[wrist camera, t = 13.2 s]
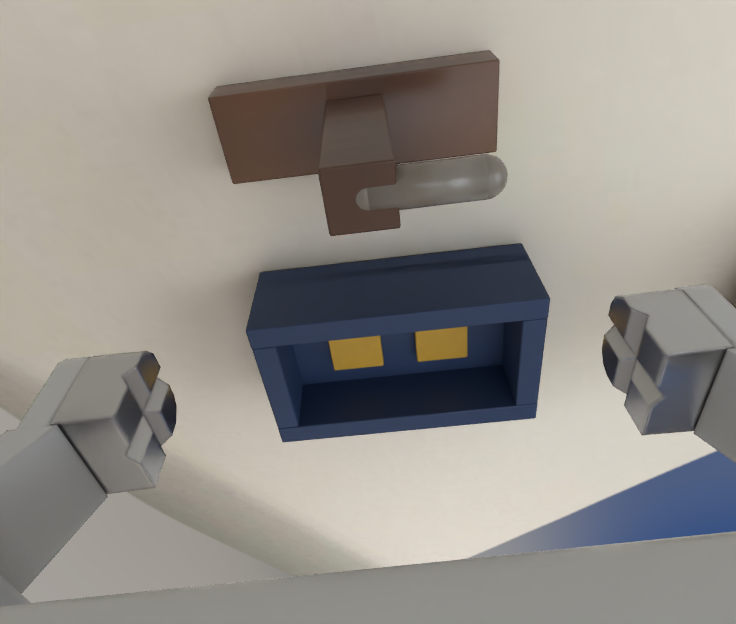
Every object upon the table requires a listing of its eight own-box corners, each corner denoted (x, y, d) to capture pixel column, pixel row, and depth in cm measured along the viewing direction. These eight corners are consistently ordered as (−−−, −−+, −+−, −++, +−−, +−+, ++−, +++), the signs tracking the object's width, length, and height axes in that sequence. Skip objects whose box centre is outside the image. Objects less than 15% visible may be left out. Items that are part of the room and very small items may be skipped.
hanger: (239, 169, 21) (195, 273, 15) (216, 85, 19) (155, 167, 13) (488, 138, 21) (545, 232, 15) (490, 49, 19) (557, 117, 13)
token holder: (290, 379, 29) (282, 442, 25) (259, 272, 24) (245, 330, 21) (513, 357, 28) (535, 418, 25) (522, 242, 24) (550, 298, 20)
